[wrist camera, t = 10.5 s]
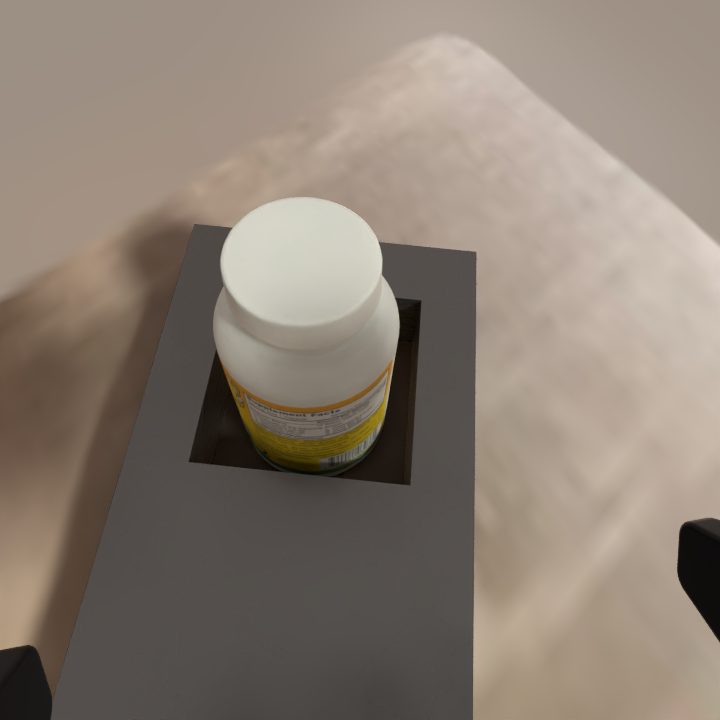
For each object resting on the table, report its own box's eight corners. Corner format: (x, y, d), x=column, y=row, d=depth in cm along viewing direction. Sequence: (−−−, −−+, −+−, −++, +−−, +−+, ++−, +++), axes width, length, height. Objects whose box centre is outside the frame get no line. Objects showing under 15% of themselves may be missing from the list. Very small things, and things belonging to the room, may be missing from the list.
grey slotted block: (449, 900, 16) (471, 941, 14) (51, 853, 17) (-3, 885, 14) (462, 296, 26) (476, 252, 23) (208, 270, 26) (194, 224, 24)
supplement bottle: (366, 498, 22) (382, 378, 13) (224, 461, 22) (152, 323, 14) (398, 369, 24) (429, 199, 16) (270, 338, 25) (234, 158, 16)
